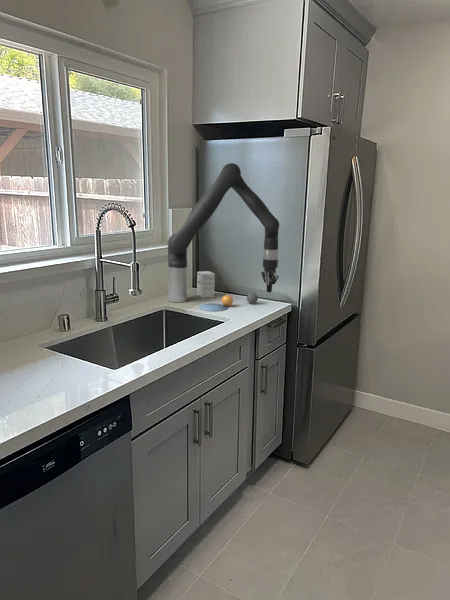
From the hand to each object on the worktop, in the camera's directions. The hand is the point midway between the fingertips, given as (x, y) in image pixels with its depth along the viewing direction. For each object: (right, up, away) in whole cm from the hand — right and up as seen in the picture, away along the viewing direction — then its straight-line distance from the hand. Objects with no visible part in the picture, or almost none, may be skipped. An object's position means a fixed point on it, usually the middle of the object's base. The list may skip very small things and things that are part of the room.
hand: (269, 291), depth 234 cm
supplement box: (-33, -2, +10) cm, 34 cm away
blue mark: (-28, -8, -13) cm, 32 cm away
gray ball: (-9, -3, -4) cm, 10 cm away
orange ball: (-21, -4, -10) cm, 24 cm away
